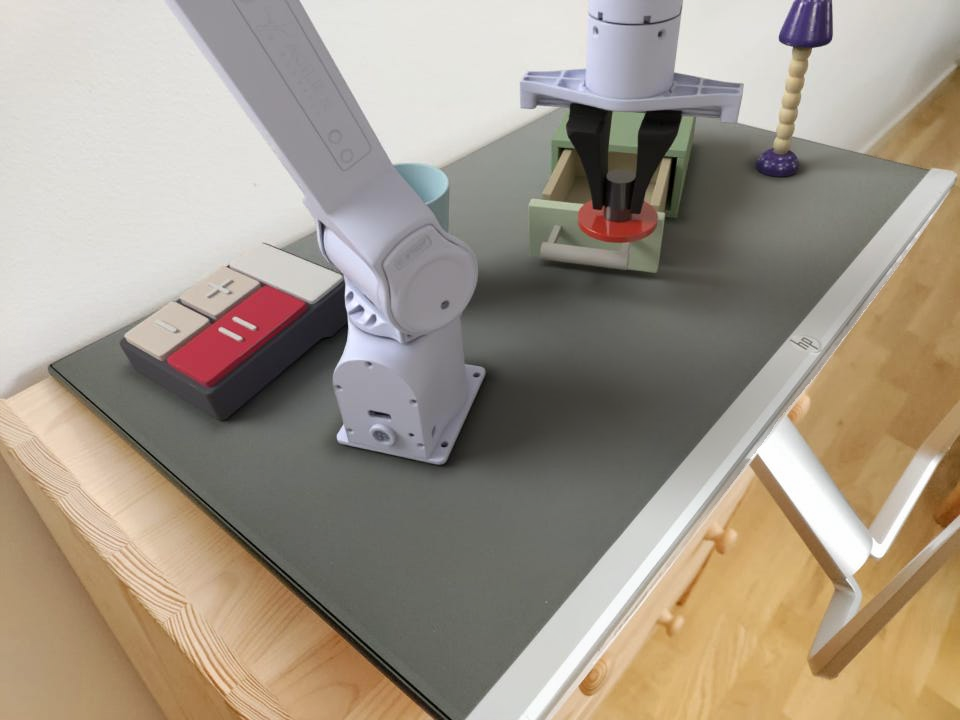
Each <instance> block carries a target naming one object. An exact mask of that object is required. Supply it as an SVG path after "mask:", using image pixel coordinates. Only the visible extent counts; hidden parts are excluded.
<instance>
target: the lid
mask: <svg viewBox="0 0 960 720" xmlns="http://www.w3.org/2000/svg"><path fill="white" fill-rule="evenodd" d="M635 179H636V175H635V174H634V173H633V172H631V171H628V170H622V169H618V170H612V171H610V172H608V173H607V174H606V176H605V190H604V205H603V208H602V210H595V209H593V206H592V200H590V201H588V202H587V203H585V204H584V205H583V206H582V207H581V208H580V209H579V211H578V220H577V222H578V226H579V228H580V229H581V230H582V231H583V232H584V233H585V234H586V235H588V236H590V237H592V238H594V239H597V240H600V241H604V242H611V243H627V242H634V241H638V240H641V239H643V238H646V237H647V236H649V235H650V234H652V233H653V232H654V230H655V229H656V227H657V222H658V214H657V211H656V210H655V209H654V207H653V206H651V205H650V204H649V203H647V202H645V201H644V203H643V206H642V210H641V213H640V214H631V201H632V195H633V190H634V184H635Z"/></svg>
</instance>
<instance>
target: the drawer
mask: <svg viewBox="0 0 960 720" xmlns="http://www.w3.org/2000/svg"><path fill="white" fill-rule="evenodd" d="M673 159H674V157H668V156H664V157H663V159H662V160H661V162H660V164H659V166H658V167H657V169H656V171H655V173H654V175H653V177H652V179H651V181H650V183H649V185H648V188H647V190H646V193H645V198H644V201H645V202H647V203H649V204H650V205H651V206H653V207H654V209H655V210H656V211H657V214H658V222H657V227H656V229H655V230H654V232H653V233H652V234H650V235H649V236H647V237H646V238H643V239H641V240H638V241H634V242H627V243H611V242H604V241H600V240H597V239H594V238H592V237H590V236H588V235H586V234H585V233H584V232H583V231H582V230H581V229H580V228H579V226H578V222H577V220H578V211H579V209H580V208H581V207H582V206H583V205H584V204H585V203H587V202H588V201H590V200H592V198H591V193H590V188H589V184H588V180H587V177H586V174H585V171H584V168H583V165H582V163H581V160H580V158H579V156H578V154H577V152H576V150H575V148H565V149H564V151H563V153H562V155H561V157H560V159H559V161H558V163H557V165H556V167H555V169H554V171H553V173H552V175H551V174H550V176H549V179H548V181H547V183H546V185H545V187H544V189H543V191H542V193H541V199H539V198H531V199H530V201H529V203H528V208H527V209H528V257H529V258H537V259H540V260H544V261H554V262H561V263H569V264H576V265H584V266H591V267H599V268H607V269H614V270H615V269H616V270H623V271H627V270H630V271H638V272H646V273H654V274H657V272H658V270H659V269H658V268H659V263H660V256H661V249H662V243H663V235H664V228H665V227H664V226H665V220H666V217H665V213H664V209H665V205H666V201H667V197H668V193H669V189H670V181H671V174H672V167H673ZM636 167H637V154H633V153H622V152H610V151H608V172H610V171H612V170H618V169H622V170H628V171H631V172H633V173H634V174H635V175H636Z"/></svg>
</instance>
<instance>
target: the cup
mask: <svg viewBox="0 0 960 720" xmlns="http://www.w3.org/2000/svg"><path fill="white" fill-rule="evenodd" d="M392 164H393V166H394V168H395V169H396V171H397V172H398V173H399V174H400V175H401V176H402V178H403V179H404V180H405V181H406V182H407V183H408V184H409V186H410V187H411V188H412V189H413V190H414V191H415V192H416V193H417V195H418V196H419V197H420V198H421V199H422V200H423V201H424V203H425V204H426V205H427V206H428V207H429V208H430V210H431V211H432V212H433V213H434V215H435V217H436V219H437V220H438V222H439V224H440V226H441V227H442V229H443V230H444V231H445V232H447V233H448V234H449V229H450V227H449V225H450V191H451V190H450V187H451V183H450V178H449V176H448V174H446V173H445V172H444V171H443V170H441V169H440V168H438V167H436V166H433V165H430V164H426V163H419V162H399V163H398V162H397V163H392Z"/></svg>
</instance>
